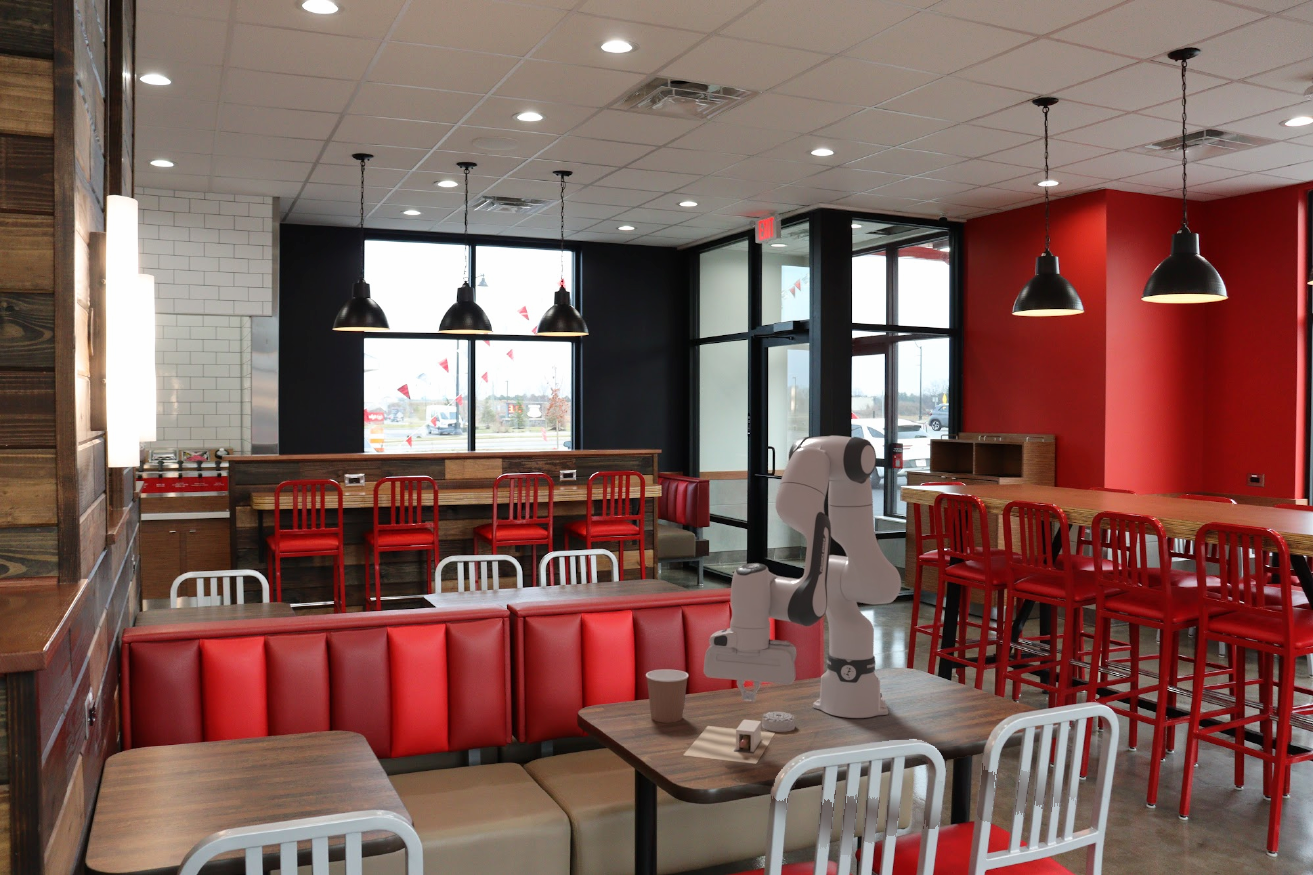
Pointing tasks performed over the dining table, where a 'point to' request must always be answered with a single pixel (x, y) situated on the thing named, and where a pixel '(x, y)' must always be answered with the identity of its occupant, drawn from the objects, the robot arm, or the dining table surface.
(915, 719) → the dining table surface
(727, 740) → the board
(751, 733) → the box
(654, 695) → the coffee cup
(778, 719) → the mechanical component
